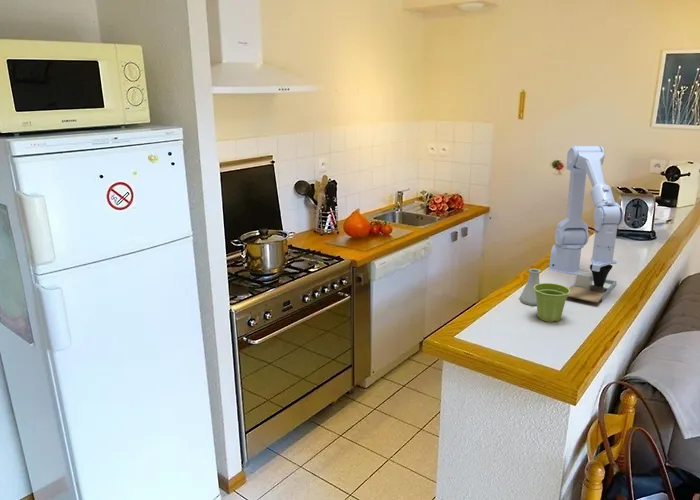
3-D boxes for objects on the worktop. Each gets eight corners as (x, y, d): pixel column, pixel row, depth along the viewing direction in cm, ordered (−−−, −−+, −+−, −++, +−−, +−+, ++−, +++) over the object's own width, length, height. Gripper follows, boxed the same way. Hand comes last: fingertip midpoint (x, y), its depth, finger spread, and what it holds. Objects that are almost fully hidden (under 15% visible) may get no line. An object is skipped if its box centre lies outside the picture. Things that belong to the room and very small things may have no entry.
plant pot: (563, 327, 142) (566, 297, 140) (527, 320, 147) (530, 290, 144) (569, 315, 150) (573, 286, 147) (535, 308, 154) (538, 280, 152)
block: (574, 290, 167) (576, 274, 165) (578, 287, 170) (580, 271, 168) (588, 293, 165) (590, 276, 163) (591, 289, 168) (593, 273, 166)
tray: (566, 296, 164) (566, 291, 163) (582, 279, 178) (583, 275, 178) (601, 303, 158) (602, 298, 157) (615, 285, 172) (616, 281, 172)
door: (562, 295, 160) (563, 289, 159) (571, 286, 167) (572, 280, 166) (597, 302, 154) (598, 296, 153) (605, 293, 161) (606, 287, 160)
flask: (532, 308, 155) (535, 275, 152) (514, 300, 161) (516, 268, 158) (549, 303, 158) (553, 271, 155) (531, 295, 164) (534, 265, 162)
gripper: (612, 253, 151) (606, 297, 155) (623, 242, 162) (618, 283, 166) (586, 248, 156) (581, 292, 159) (599, 238, 167) (594, 279, 170)
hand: (598, 287), depth 163 cm, fingers closed
